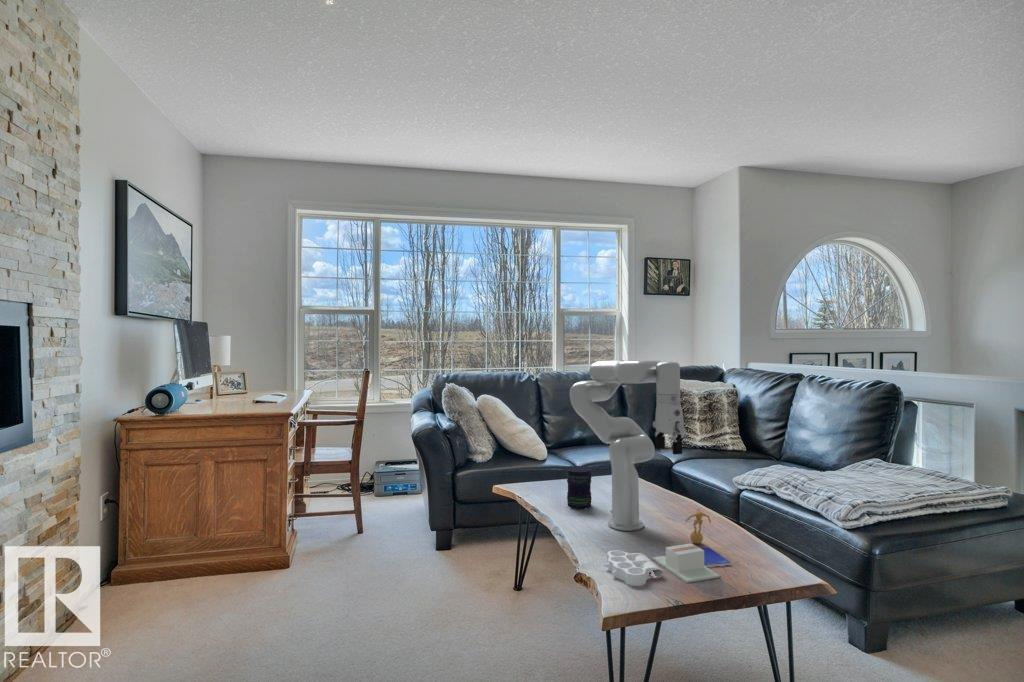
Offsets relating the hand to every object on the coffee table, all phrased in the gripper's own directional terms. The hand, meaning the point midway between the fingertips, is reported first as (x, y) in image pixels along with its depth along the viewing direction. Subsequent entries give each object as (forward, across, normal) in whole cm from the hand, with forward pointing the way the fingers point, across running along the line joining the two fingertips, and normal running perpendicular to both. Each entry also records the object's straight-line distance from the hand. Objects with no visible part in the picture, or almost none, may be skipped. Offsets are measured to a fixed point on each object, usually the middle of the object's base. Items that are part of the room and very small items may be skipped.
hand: (668, 451), depth 179 cm
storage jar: (+31, +47, +11) cm, 57 cm away
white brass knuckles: (+31, -16, +23) cm, 42 cm away
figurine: (+31, -4, -8) cm, 32 cm away
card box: (+30, -18, +7) cm, 36 cm away
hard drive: (+31, -14, -4) cm, 35 cm away
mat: (+30, -18, +7) cm, 36 cm away
